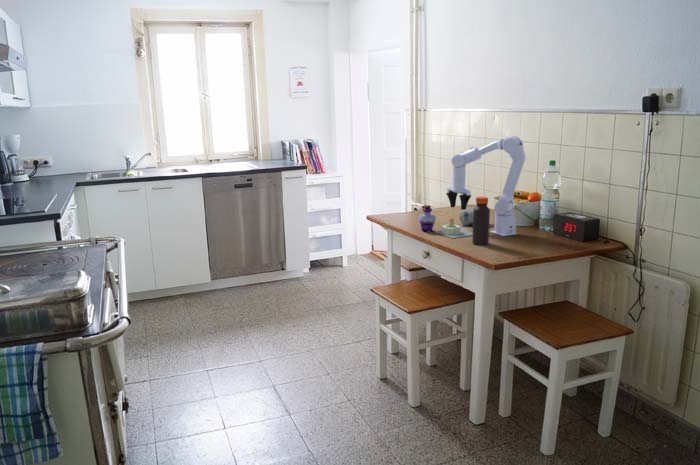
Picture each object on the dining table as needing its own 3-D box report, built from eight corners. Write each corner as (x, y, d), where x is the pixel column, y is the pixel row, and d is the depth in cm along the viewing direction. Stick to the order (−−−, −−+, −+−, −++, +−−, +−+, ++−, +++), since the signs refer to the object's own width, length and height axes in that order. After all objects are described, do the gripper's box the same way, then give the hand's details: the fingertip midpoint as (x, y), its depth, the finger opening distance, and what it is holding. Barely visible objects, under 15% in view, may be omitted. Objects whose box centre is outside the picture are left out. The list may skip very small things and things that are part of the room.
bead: (463, 233, 264) (463, 227, 263) (449, 235, 260) (449, 229, 259) (452, 230, 271) (453, 223, 270) (438, 232, 267) (438, 225, 267)
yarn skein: (465, 221, 276) (465, 202, 278) (455, 226, 284) (456, 207, 287) (489, 226, 279) (490, 207, 282) (479, 231, 288) (480, 212, 291)
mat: (481, 234, 263) (481, 233, 263) (452, 238, 256) (452, 237, 256) (462, 228, 276) (462, 227, 275) (434, 232, 269) (434, 231, 269)
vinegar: (469, 242, 249) (470, 197, 245) (482, 240, 252) (484, 195, 247) (477, 246, 243) (479, 199, 238) (491, 244, 245) (493, 198, 241)
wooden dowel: (454, 232, 265) (454, 218, 264) (451, 233, 264) (451, 219, 262) (451, 232, 267) (451, 217, 265) (447, 232, 266) (448, 218, 264)
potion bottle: (430, 227, 278) (431, 203, 275) (439, 231, 270) (439, 206, 267) (414, 229, 275) (414, 204, 272) (422, 233, 267) (423, 207, 264)
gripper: (476, 181, 266) (475, 209, 269) (455, 177, 278) (454, 205, 281) (464, 182, 263) (463, 211, 266) (444, 178, 275) (443, 206, 278)
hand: (458, 208), depth 273 cm, fingers open, 7 cm apart
